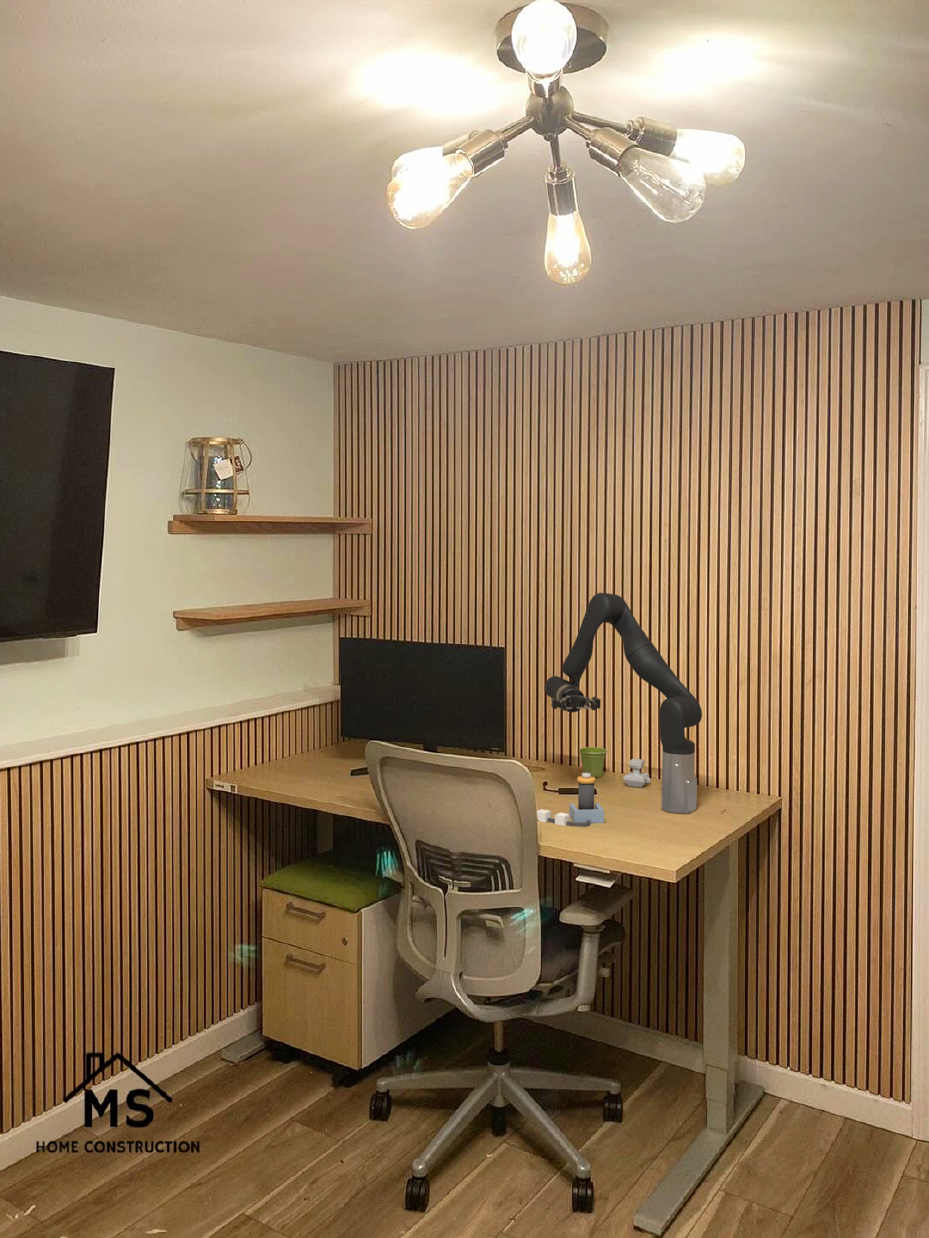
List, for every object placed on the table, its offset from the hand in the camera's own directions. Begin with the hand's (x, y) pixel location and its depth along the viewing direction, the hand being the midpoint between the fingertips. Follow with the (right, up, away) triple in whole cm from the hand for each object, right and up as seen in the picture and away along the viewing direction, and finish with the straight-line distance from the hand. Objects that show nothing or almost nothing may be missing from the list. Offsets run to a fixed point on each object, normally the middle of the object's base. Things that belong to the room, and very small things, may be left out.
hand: (579, 707), depth 294 cm
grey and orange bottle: (+1, -30, -8) cm, 31 cm away
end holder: (+1, -31, -9) cm, 32 cm away
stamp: (+21, -28, +28) cm, 45 cm away
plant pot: (+9, -27, +42) cm, 51 cm away
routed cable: (-6, -31, -12) cm, 34 cm away
